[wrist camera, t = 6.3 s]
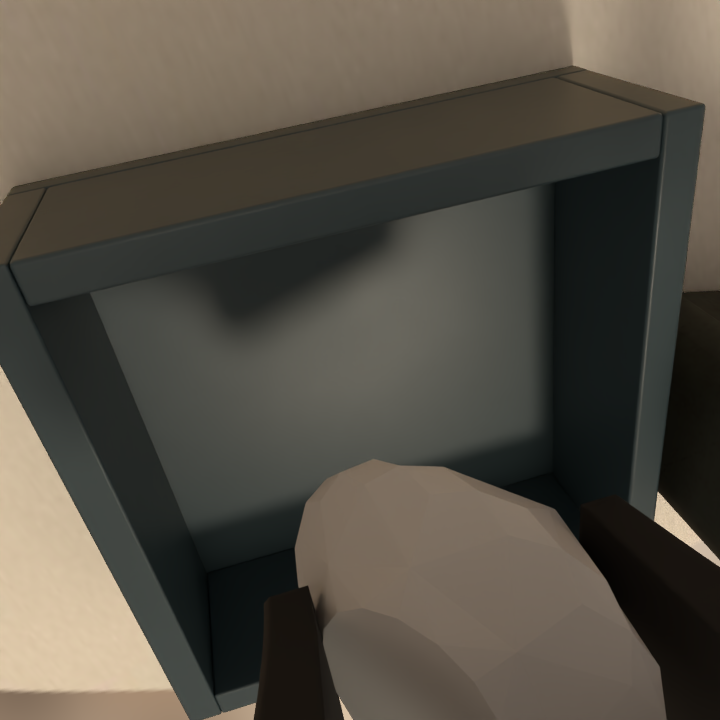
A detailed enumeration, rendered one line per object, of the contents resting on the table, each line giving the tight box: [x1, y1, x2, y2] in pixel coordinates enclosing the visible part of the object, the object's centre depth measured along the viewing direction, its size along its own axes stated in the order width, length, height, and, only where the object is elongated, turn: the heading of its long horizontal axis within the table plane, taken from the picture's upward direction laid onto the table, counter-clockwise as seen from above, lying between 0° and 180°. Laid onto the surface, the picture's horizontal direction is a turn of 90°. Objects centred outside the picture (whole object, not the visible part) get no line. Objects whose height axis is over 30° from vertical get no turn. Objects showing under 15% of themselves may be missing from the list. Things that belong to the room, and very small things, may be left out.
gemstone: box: [295, 459, 667, 720], centre depth 11 cm, size 6×6×5 cm
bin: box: [0, 66, 705, 720], centre depth 16 cm, size 13×13×5 cm
